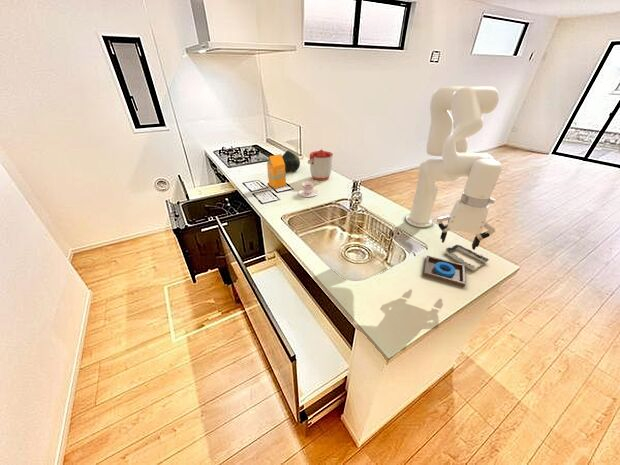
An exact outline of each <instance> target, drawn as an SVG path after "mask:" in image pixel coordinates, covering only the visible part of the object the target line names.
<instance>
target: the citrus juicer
mask: <svg viewBox="0 0 620 465" xmlns="http://www.w3.org/2000/svg"><path fill="white" fill-rule="evenodd" d="M333 156H334V154H333V152H330V151H327V150H323V149H320V150H315V151H311V152H310V153H309V159H308V160H307V164H309V169H310V174H311V178H312V179H313V180H315V181H317V182H319V181H326V180H329V179H330V177H331V174H332V170H333Z"/></svg>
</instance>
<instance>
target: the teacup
mask: <svg viewBox="0 0 620 465" xmlns="http://www.w3.org/2000/svg"><path fill="white" fill-rule="evenodd" d="M301 186H302V188H303V189H300V190H299V191H298V192H297V194H298V196H300V197H304V198H313V197H315V196H317V195H318V191H317V190H316V189H314V187H315V183H314V182H312V181H303V182H302V183H301Z"/></svg>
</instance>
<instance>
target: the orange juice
mask: <svg viewBox="0 0 620 465" xmlns="http://www.w3.org/2000/svg"><path fill="white" fill-rule="evenodd" d="M282 156H283V154H282V153H279V154H274V155H270V156H269V158H268V160H267V163H266V166H267V168H266V169H267V176H268V177H267V178H268V186H270V187H271V188H273V189H278V188H279V189H280V188H283V187H286V186H287V175H286V173H287V172H285V163H284V160H283V158H282Z"/></svg>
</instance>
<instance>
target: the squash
mask: <svg viewBox="0 0 620 465" xmlns="http://www.w3.org/2000/svg"><path fill="white" fill-rule="evenodd" d="M282 158H283V160H284V163H285V173H287V172H290V171H291V172H297V171H298V170H299V168H300V165H301V160H300V157H299V156H298V155H297V154H295V153H293V152H292V151H290V150H286V151H285V152H284V153H283V154H282Z"/></svg>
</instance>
